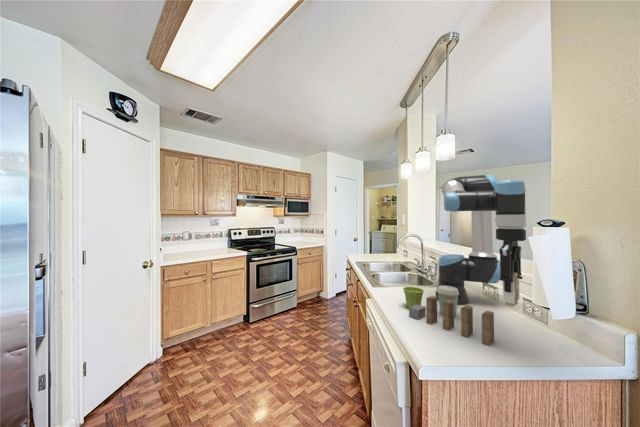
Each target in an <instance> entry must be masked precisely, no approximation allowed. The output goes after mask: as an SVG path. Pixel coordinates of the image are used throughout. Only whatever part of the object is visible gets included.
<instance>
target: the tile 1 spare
mask: <svg viewBox="0 0 640 427" xmlns="http://www.w3.org/2000/svg"><path fill="white" fill-rule="evenodd" d="M505 277H506V276H505ZM513 282H514V295H515V303H514V304H513V303H508V302H504V305H505V306H509V307H513V308H514V307H515V306H517V305H518V304H519V300H518V286H517V272H513Z"/></svg>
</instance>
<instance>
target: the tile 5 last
mask: <svg viewBox="0 0 640 427" xmlns="http://www.w3.org/2000/svg"><path fill="white" fill-rule="evenodd" d="M425 300H426V303H425V304H426V306H425V317H426V324H428V325H434V324H435V323H438V299H437V297H435V296H434V295H431V296H429V297H426V299H425Z"/></svg>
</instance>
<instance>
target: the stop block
mask: <svg viewBox="0 0 640 427" xmlns="http://www.w3.org/2000/svg"><path fill="white" fill-rule="evenodd" d="M408 311H409V312H408V314H409V315H408V317H409V318H412V319H414V320H416V319H417V321H419V320H421V319H423V318H425V317H426V306H423V305H421V306H420V305H414V306H412V307H409V308H408Z"/></svg>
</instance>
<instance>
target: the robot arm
mask: <svg viewBox="0 0 640 427" xmlns="http://www.w3.org/2000/svg"><path fill="white" fill-rule="evenodd" d="M441 192H442V195H443V209H444V211H446V212H453V213H455V212H470V215H471V221H470V222H471V252H470V253H469V254H468V257H465V255H464V254H457V253H454V254H444V255H440V257H439V258H438V285H437V288H436V290H435V297H437V301H439V298H438V292H437V289H438V287H439V286H451V287H455V288H457V289H458V292H459V295H458V302H457V306H458V305H459V306H460V305H461V306H463V305H468V304H469V301H470V300H469V296H468V292H467V290H466V287H465V282H474V283H483V284H486V285H487V284H494V285H495V284H497V283H499V281H501V282H502V302H504V303H505V302H508V303H513V304H514V303H515V295H514V282H513V272H517V286H518V301H519V300H521V299H520V292H521V291H520V290H521V289H520V280H523V276H522V268H521V265H522V263H521V262H522V260H521V259H522V258H521V252H522V246H520V245H519V242H525V241H526V240H527V233H526V232H527V230H526V229H525V228H526V227H527V215H526V192H527V189H526V186H525V181H524V180H522V179H508V180H506V179H505V180H502V181H501V180H500V181H499V180H498V178H497V177H496V176H495V175H493V174H486V175H485V174H481V175H467V176H457V177H454V178H451V179H449V180H448V181H445V183H444V184H443V185H442V187H441ZM493 212H495V217H494V218H493ZM493 220H494V221H495V226H496V227H497V228H496V229H495V239H496V240H498V241H503V242H502V245H501V247H500V248H499V256H500V257H499V259H498V257H497V255H496V254H495V253H494V248H493V244H494V243H493ZM505 276H506V277H505Z"/></svg>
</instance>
